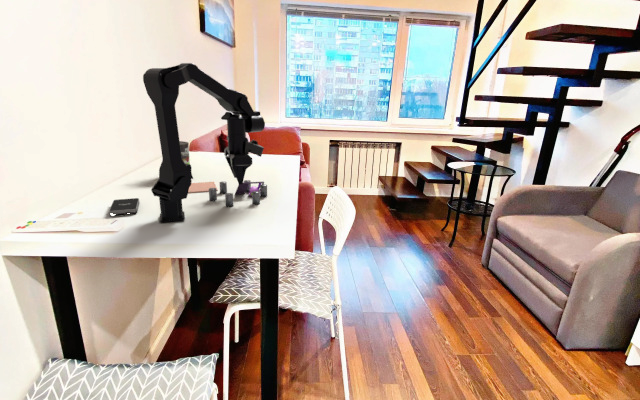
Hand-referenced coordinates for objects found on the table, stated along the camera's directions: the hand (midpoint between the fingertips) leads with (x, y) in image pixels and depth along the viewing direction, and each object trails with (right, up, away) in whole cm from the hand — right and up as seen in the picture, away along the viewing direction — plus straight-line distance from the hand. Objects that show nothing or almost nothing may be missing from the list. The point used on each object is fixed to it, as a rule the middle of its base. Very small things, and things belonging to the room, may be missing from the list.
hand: (238, 180), depth 116 cm
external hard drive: (-31, -10, -12) cm, 35 cm away
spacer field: (0, -6, +2) cm, 6 cm away
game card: (-1, -4, +2) cm, 5 cm away
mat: (-16, -2, +12) cm, 20 cm away
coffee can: (-31, +3, +26) cm, 40 cm away
